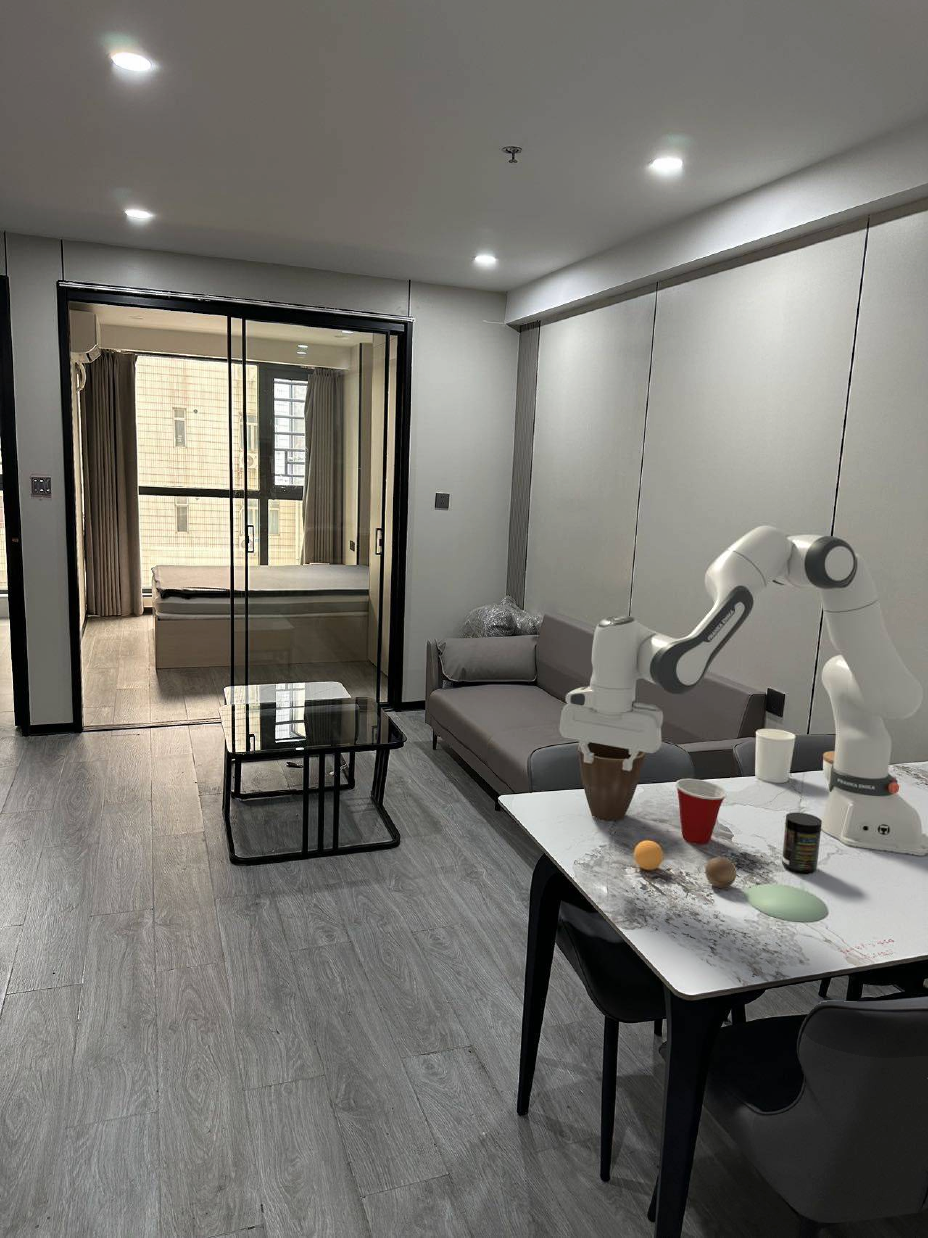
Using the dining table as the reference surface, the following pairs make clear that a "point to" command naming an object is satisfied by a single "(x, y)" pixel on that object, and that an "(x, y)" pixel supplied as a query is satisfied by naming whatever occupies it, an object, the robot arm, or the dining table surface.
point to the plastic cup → (698, 808)
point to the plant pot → (609, 780)
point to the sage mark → (786, 902)
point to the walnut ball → (720, 872)
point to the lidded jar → (828, 763)
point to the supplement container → (801, 843)
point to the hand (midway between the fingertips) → (607, 765)
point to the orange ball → (648, 855)
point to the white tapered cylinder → (773, 755)
